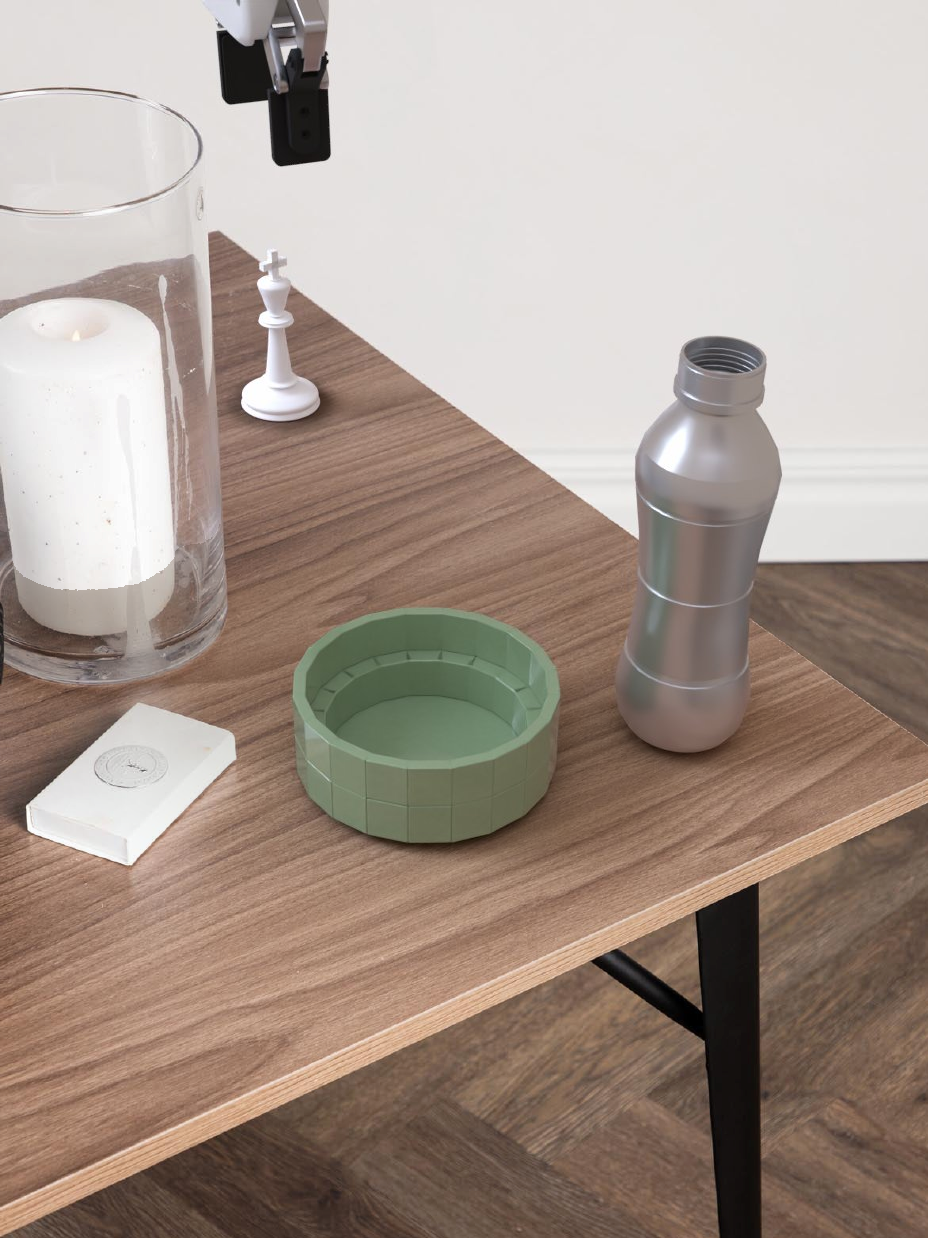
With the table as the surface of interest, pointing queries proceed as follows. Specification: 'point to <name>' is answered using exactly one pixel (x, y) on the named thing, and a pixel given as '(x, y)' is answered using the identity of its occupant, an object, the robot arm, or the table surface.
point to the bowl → (426, 724)
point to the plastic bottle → (699, 550)
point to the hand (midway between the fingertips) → (275, 130)
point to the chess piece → (278, 356)
